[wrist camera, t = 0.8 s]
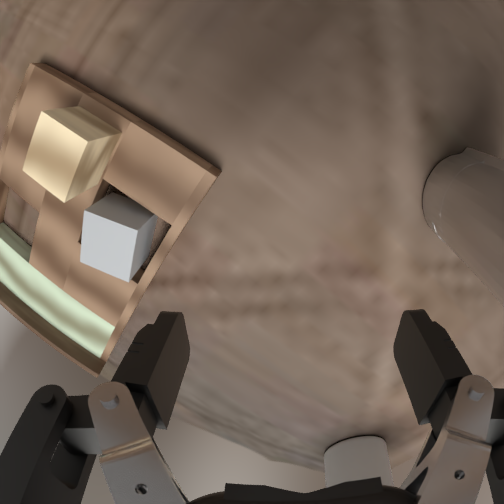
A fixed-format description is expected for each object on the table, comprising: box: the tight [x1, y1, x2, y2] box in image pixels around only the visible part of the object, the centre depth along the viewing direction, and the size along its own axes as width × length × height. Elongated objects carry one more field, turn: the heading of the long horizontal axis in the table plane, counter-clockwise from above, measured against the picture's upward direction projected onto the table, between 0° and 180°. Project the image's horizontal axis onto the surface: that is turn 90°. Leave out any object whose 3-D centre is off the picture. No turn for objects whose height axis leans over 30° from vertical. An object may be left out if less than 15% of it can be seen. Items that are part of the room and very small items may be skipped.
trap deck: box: [0, 63, 222, 377], centre depth 28 cm, size 31×24×5 cm
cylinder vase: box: [324, 436, 394, 488], centre depth 37 cm, size 12×12×25 cm
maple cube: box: [23, 106, 122, 203], centre depth 21 cm, size 6×6×6 cm
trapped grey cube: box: [80, 192, 158, 282], centre depth 27 cm, size 6×6×6 cm
